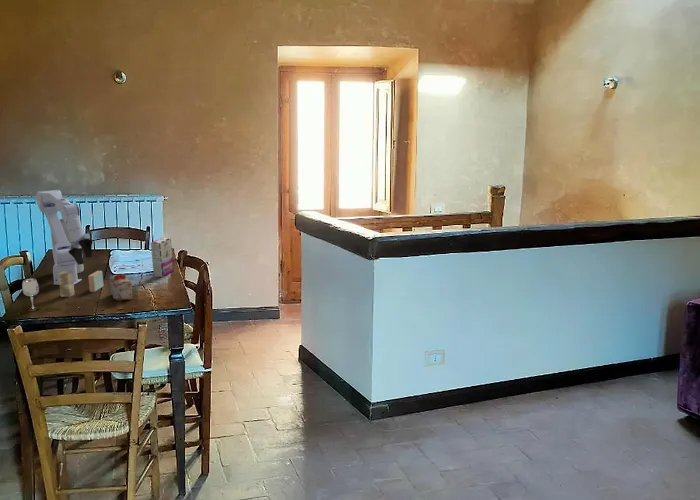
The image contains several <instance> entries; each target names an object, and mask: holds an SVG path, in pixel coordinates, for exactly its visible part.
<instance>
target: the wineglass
mask: <svg viewBox="0 0 700 500" xmlns="http://www.w3.org/2000/svg"><path fill="white" fill-rule="evenodd" d="M21 286H22V287H21V288H22V293H23V295H25V296H27V297H30V301H31V308H32V309H34V308H36V307H35V306H34V297H35V296H36V295H38V293H39V292H40V287H39V283H38V281H37V279H36V278H26V279H24V280H22V284H21Z"/></svg>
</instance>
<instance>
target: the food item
mask: <svg viewBox="0 0 700 500" xmlns="http://www.w3.org/2000/svg"><path fill="white" fill-rule="evenodd" d="M108 286H109V287H108V288H109V294H110V295H111V296H112V299H113V300H116V301H119V302H121V301H122V302H123V300H124V301H129V300H132V299H133V285H132V281H131V280H129V279H128V277H127V276H126V275H125V274H121V273H119V274H114V275H111V276H109V277H108Z"/></svg>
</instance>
